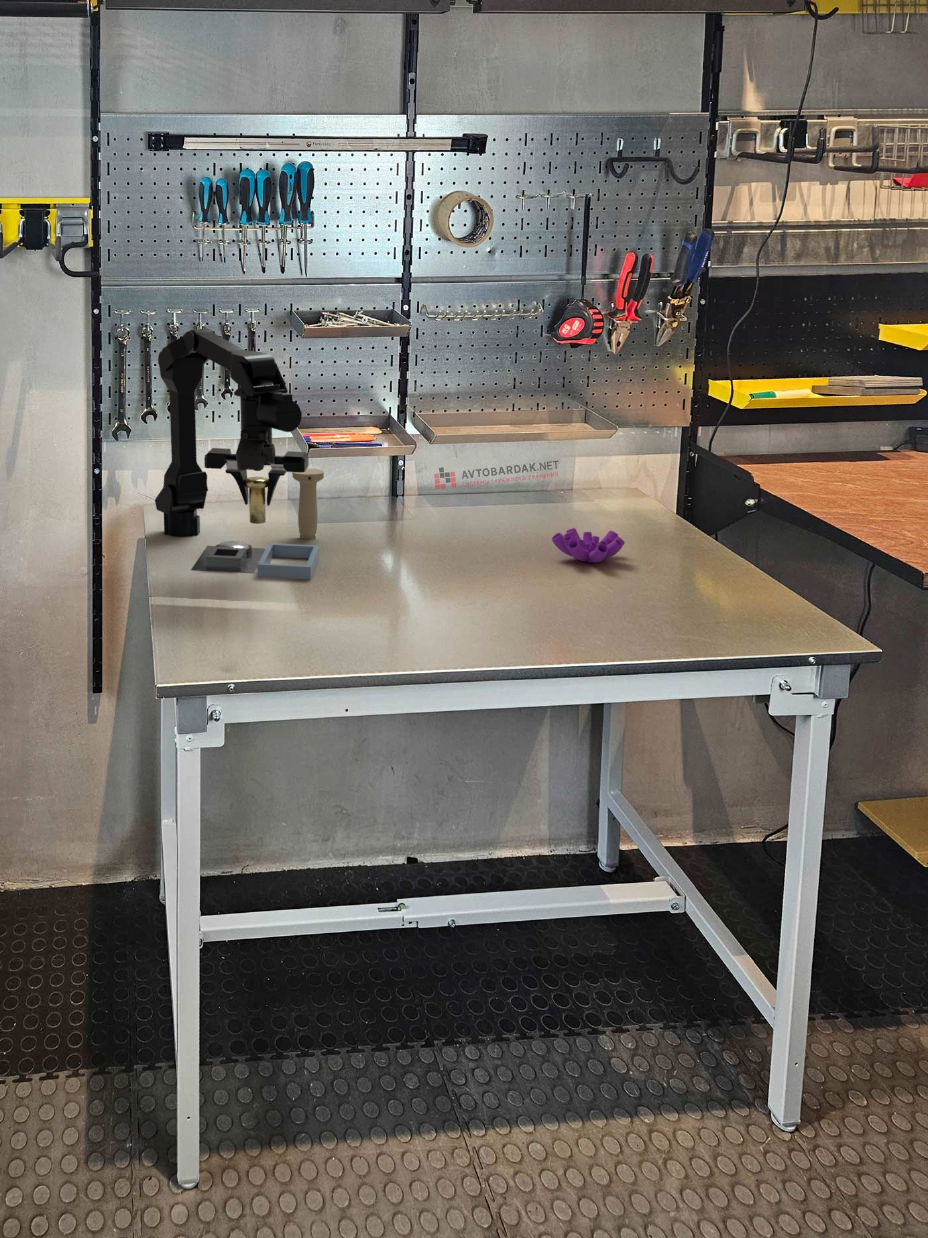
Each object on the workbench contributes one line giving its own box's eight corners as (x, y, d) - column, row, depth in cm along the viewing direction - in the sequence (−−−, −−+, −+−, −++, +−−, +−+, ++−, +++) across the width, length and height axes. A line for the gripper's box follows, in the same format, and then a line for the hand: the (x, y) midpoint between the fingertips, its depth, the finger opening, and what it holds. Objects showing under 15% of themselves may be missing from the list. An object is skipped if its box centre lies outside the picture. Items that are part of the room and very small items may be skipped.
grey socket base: (190, 576, 248) (190, 557, 247) (207, 551, 263) (206, 534, 262) (253, 579, 248) (253, 561, 247) (266, 554, 263) (266, 537, 262)
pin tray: (257, 582, 247) (257, 564, 245) (268, 560, 260) (268, 543, 258) (310, 585, 247) (310, 567, 245) (319, 562, 260) (319, 545, 259)
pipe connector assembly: (621, 581, 269) (625, 553, 261) (548, 575, 270) (550, 548, 262) (623, 537, 275) (627, 509, 267) (552, 532, 276) (554, 504, 268)
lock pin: (243, 524, 247) (243, 481, 244) (248, 518, 251) (247, 476, 248) (267, 525, 247) (266, 482, 244) (271, 519, 251) (270, 477, 248)
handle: (324, 544, 272) (325, 474, 266) (293, 545, 270) (293, 474, 265) (321, 538, 276) (322, 468, 271) (290, 538, 274) (291, 468, 269)
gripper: (196, 429, 235) (199, 513, 241) (299, 433, 235) (300, 517, 240) (209, 417, 246) (212, 498, 251) (308, 422, 246) (309, 502, 251)
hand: (257, 504), depth 248 cm, fingers closed on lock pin, 4 cm apart
